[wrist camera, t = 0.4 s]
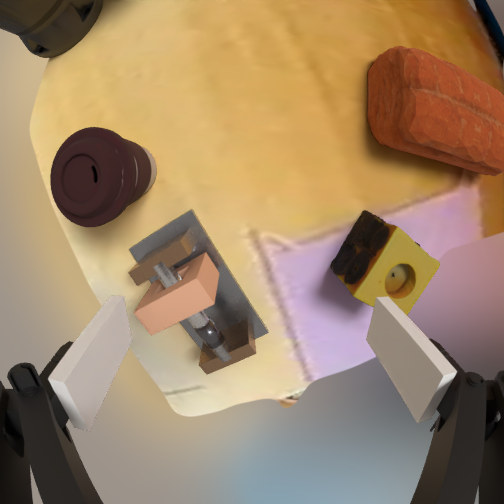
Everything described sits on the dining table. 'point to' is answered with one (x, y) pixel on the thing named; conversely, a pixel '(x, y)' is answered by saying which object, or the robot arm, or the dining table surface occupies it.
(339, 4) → the dining table surface
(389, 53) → the bread
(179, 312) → the collar
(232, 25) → the dining table surface
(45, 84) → the dining table surface
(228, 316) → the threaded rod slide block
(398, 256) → the candle
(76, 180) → the coffee cup
